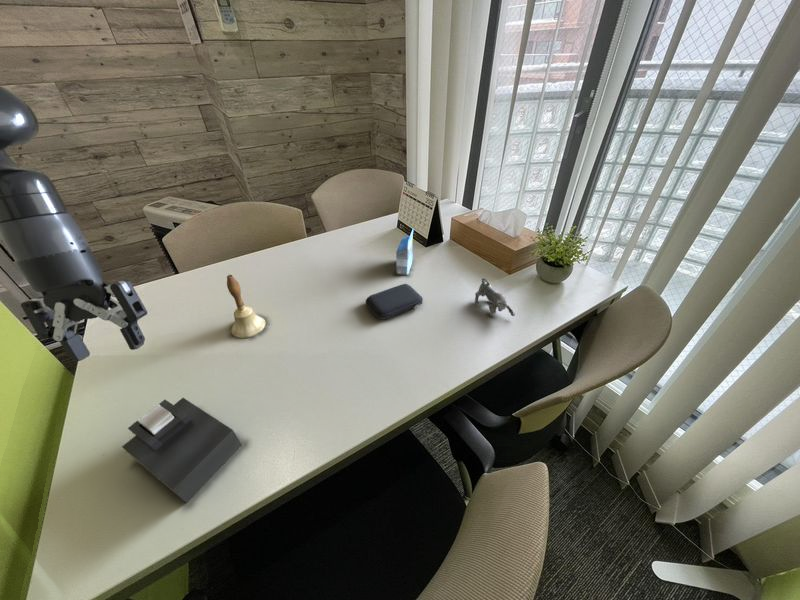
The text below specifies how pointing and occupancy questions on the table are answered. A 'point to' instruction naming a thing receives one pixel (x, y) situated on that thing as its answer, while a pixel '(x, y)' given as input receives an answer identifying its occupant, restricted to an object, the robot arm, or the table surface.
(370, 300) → the carrying case
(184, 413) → the black square panel
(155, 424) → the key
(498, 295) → the dog figurine
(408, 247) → the blue white carton
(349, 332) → the table surface
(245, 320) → the hand bell
